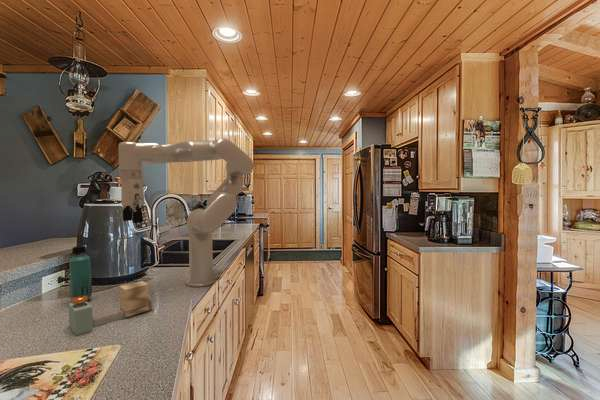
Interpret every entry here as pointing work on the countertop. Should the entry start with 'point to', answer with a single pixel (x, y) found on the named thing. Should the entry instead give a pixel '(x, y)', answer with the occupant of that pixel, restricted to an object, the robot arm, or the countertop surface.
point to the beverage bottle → (80, 273)
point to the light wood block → (134, 298)
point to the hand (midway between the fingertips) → (132, 221)
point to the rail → (112, 316)
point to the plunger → (79, 301)
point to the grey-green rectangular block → (80, 318)
